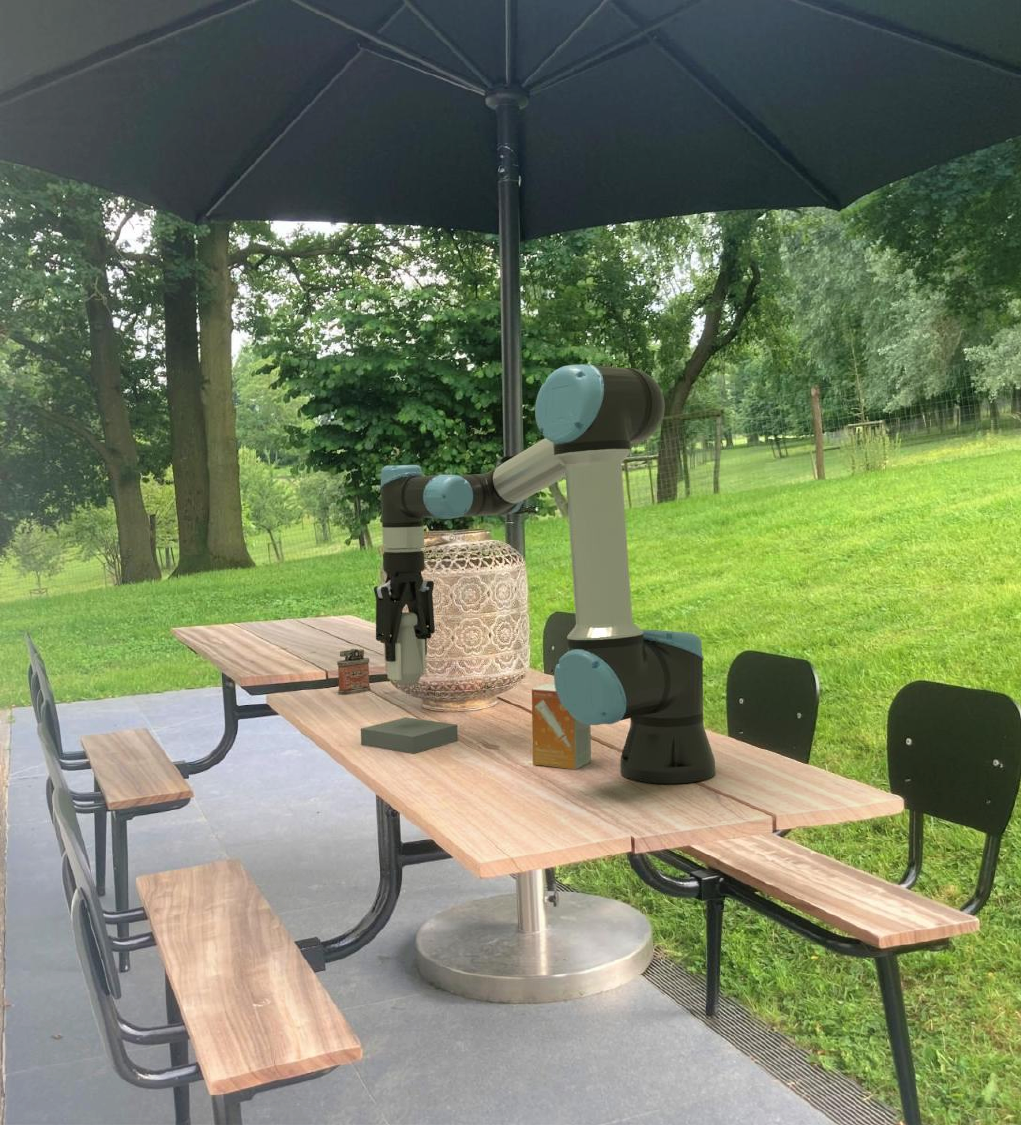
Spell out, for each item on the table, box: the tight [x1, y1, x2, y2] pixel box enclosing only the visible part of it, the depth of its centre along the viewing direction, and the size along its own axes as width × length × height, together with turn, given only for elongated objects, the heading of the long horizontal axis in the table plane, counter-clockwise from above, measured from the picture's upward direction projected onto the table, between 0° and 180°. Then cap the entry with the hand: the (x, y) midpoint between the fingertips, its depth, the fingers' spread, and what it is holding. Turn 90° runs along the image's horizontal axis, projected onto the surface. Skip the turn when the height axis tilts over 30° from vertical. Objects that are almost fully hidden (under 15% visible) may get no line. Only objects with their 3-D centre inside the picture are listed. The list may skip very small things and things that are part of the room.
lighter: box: [336, 647, 371, 696], centre depth 271 cm, size 8×3×10 cm, turn 130°
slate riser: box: [360, 717, 459, 754], centre depth 217 cm, size 13×12×3 cm
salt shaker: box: [394, 611, 423, 686], centre depth 216 cm, size 6×6×13 cm
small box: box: [531, 682, 592, 771], centre depth 198 cm, size 8×6×13 cm
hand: (407, 676), depth 216 cm, fingers closed on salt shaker, 6 cm apart
